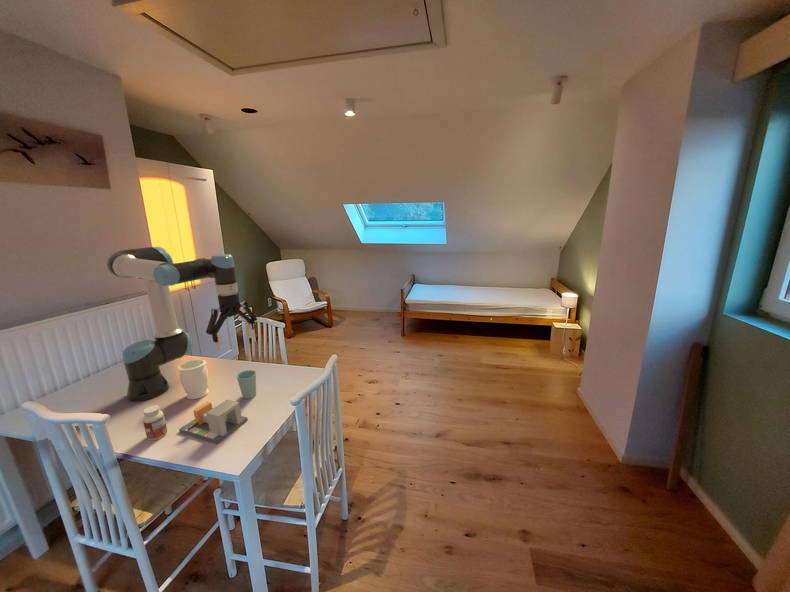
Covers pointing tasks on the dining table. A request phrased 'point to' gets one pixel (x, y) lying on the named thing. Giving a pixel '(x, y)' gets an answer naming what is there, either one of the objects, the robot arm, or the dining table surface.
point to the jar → (194, 378)
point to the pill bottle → (154, 423)
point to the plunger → (201, 414)
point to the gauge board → (206, 427)
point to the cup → (247, 383)
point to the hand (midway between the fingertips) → (235, 343)
